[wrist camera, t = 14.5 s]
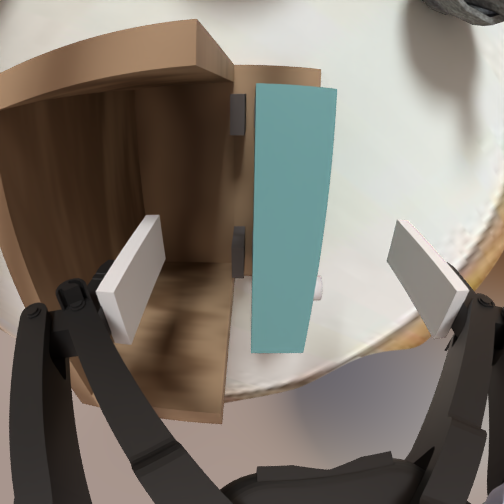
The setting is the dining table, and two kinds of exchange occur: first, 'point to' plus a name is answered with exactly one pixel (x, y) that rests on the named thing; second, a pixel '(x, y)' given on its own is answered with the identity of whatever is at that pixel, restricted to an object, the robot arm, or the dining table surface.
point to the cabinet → (138, 191)
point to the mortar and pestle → (471, 10)
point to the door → (289, 210)
